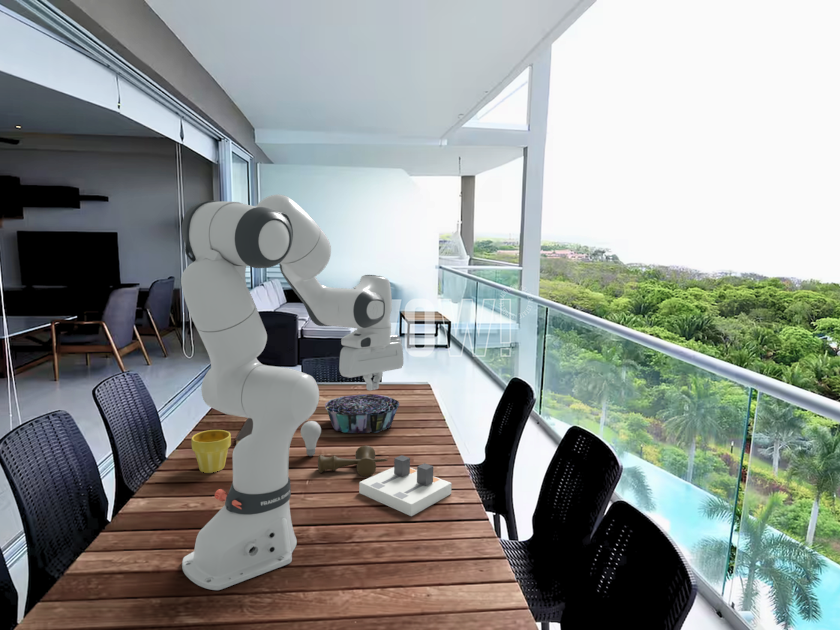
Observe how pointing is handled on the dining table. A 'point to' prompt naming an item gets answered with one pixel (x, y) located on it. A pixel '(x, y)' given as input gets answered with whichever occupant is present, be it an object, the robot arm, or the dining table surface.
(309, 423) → the lightbulb
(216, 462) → the plant pot
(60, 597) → the dining table surface
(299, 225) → the robot arm
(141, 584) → the dining table surface
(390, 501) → the breaker panel
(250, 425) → the hardcover book
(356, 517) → the dining table surface
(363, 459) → the kendama
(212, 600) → the dining table surface
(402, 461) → the block
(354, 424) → the decorative bowl
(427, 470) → the block
